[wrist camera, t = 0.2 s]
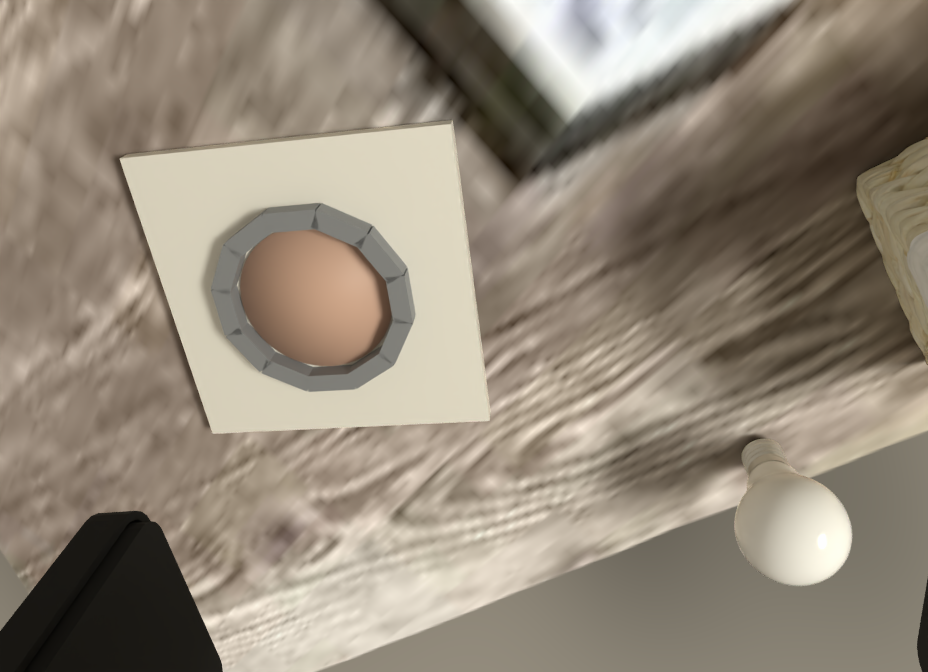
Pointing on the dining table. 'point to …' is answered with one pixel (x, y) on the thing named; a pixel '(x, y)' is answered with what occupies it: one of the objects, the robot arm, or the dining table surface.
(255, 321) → the seat board
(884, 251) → the storage basket
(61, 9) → the dining table surface
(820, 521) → the lightbulb
